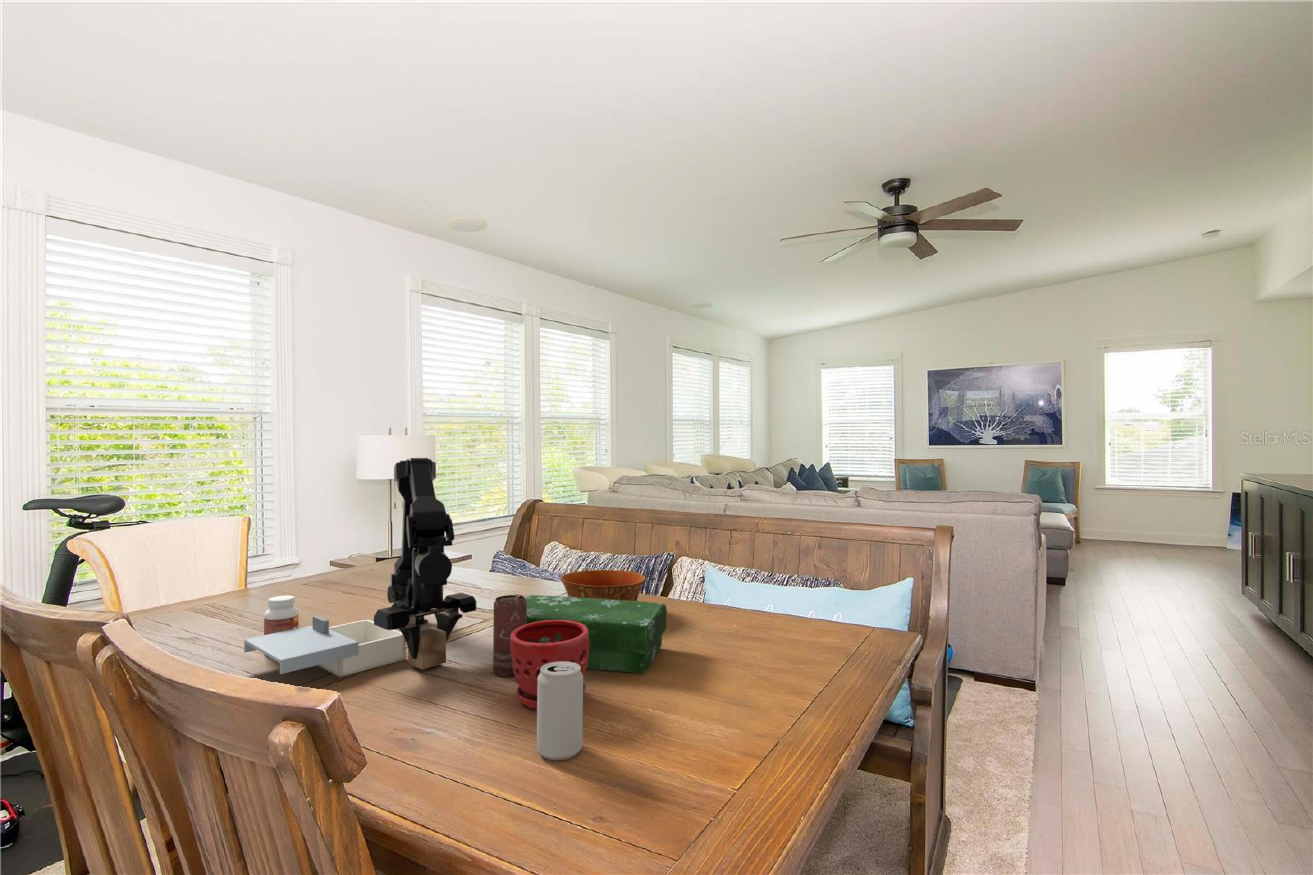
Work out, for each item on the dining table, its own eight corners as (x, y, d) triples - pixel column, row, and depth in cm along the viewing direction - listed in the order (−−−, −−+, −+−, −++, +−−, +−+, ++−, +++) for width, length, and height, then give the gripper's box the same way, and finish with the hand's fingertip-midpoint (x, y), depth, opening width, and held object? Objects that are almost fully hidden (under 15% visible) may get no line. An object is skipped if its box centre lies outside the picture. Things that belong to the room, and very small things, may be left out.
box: (668, 648, 140) (668, 601, 140) (648, 679, 122) (648, 625, 122) (529, 637, 147) (529, 592, 147) (491, 665, 129) (491, 614, 129)
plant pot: (520, 685, 118) (520, 618, 118) (593, 686, 117) (593, 619, 117) (500, 716, 105) (501, 641, 105) (583, 717, 104) (583, 642, 104)
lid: (318, 635, 134) (318, 611, 134) (358, 654, 123) (358, 628, 123) (244, 652, 124) (244, 626, 124) (280, 674, 113) (280, 645, 113)
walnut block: (431, 656, 130) (432, 626, 130) (445, 662, 127) (446, 631, 127) (408, 663, 126) (408, 632, 126) (422, 669, 123) (422, 637, 123)
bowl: (598, 601, 178) (598, 564, 178) (662, 614, 166) (662, 574, 166) (542, 618, 161) (542, 577, 161) (608, 634, 149) (609, 590, 149)
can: (532, 668, 126) (533, 595, 126) (515, 679, 120) (515, 603, 120) (505, 664, 128) (506, 592, 128) (486, 675, 122) (487, 600, 122)
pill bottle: (299, 653, 134) (300, 599, 134) (264, 659, 130) (264, 603, 130) (296, 645, 139) (297, 592, 139) (262, 650, 135) (263, 596, 135)
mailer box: (367, 642, 141) (367, 619, 141) (405, 659, 131) (405, 634, 131) (303, 657, 131) (303, 632, 131) (339, 677, 121) (339, 650, 121)
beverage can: (538, 742, 96) (539, 660, 96) (583, 740, 96) (583, 659, 96) (534, 764, 90) (535, 675, 90) (581, 762, 90) (582, 674, 90)
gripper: (447, 561, 139) (446, 635, 139) (359, 575, 125) (359, 657, 125) (478, 568, 132) (477, 646, 132) (389, 584, 117) (388, 671, 117)
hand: (427, 654), depth 127 cm, fingers closed on walnut block, 5 cm apart
